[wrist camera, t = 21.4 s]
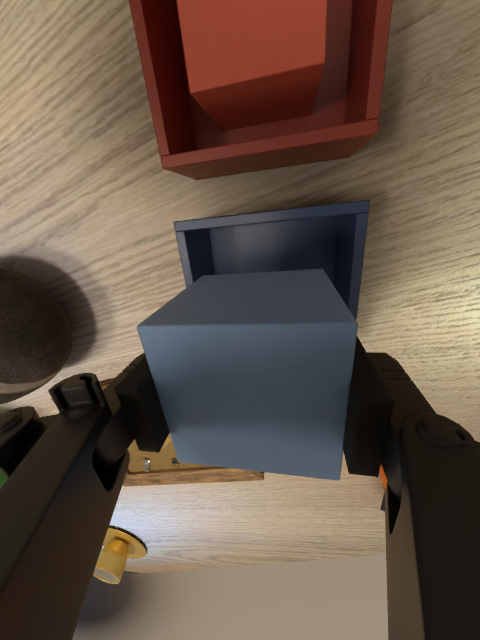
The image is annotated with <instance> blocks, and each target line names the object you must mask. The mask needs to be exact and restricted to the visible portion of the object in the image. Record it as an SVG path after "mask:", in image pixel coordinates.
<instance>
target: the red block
mask: <svg viewBox="0 0 480 640" xmlns="http://www.w3.org/2000/svg"><path fill="white" fill-rule="evenodd" d="M177 6H178V13H179V20H180V27H181V34H182V40H183V47H184V54H185V61H186V68H187V75H188V82H189V89H190V93H191V95H192V96H193V97H194V98H195V100H196V101H197V102H198V103H199V104H200V106H201V107H202V108H203V109H204V110H205V112H206V113H207V114H208V115H209V116H210V118H211V119H212V120H213V121H214V122H215V124H216V125H217V126H218V127H219V128H220V130H221V131H228V130H233V129H238V128H243V127H249V126H254V125H259V124H265V123H270V122H275V121H280V120H286V119H291V118H296V117H302V116H307V115H311V114H312V110H313V106H314V102H315V98H316V95H317V91H318V87H319V83H320V79H321V75H322V71H323V67H324V63H325V49H326V21H327V0H177Z"/></svg>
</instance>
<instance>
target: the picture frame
mask: <svg viewBox="0 0 480 640" xmlns="http://www.w3.org/2000/svg"><path fill="white" fill-rule="evenodd" d="M113 380H114V379H113ZM113 380H109V381H105V382H100V386H101V388H102V390H104V389H105V388H106V387H107V386H108V385H109V384H110V383H111V382H112V381H113ZM52 400H53V399H52ZM53 402H54V400H53ZM54 403H55V402H54ZM128 451H129V453H130V462H129V466H128V469H127V472H126V475H125V478H124V481H123V484H122V485H123V486H143V485H165V484H187V483H209V482H232V481H254V480H264V475H263V473H264V472H261V471H252V470H243V469H235V468H226V467H218V466H209V465H200V464H192V463H183V462H179V461H178V458H177V455H176V452H175V449H174V446H173V442H172V439H171V436H170V433H169V435H168V437H167V439H166V441H165V443H164V445H163V446H162V448H161V450H160V452H159V453H156V452H147V451H139V449H138V446H137V444H136V441H135V439H134V440H133V442H132V443H131V445H130V446H129V448H128Z"/></svg>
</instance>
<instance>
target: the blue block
mask: <svg viewBox="0 0 480 640" xmlns="http://www.w3.org/2000/svg"><path fill="white" fill-rule="evenodd" d="M357 328H358V324H357V322H356V320H355V319H354V317H353V316H352V314H351V312H350V311H349V309H348V308H347V306H346V304H345V303H344V301H343V300H342V298H341V297H340V295H339V293H338V292H337V290H336V289H335V287H334V285H333V284H332V282H331V281H330V279H329V278H328V276H327V274H326V273H325V271H324V270H323V269H308V270H291V271H274V272H257V273H240V274H223V275H206V276H202V277H200V278H199V279H198V280H196V281H195V282H194V283H192V284H191V285H190V286H189V287H187V288H186V289H185V290H183V291H182V292H181V293H179V294H178V295H177V296H176V297H174V298H173V299H172V300H170V301H169V302H168V303H166V304H165V305H164V306H162V307H161V308H160V309H159V310H157V311H156V312H155V313H153V314H152V315H151V316H149V317H148V318H147V319H146V320H144V321H143V322H142V323H140V324H139V325H138V326H137V330H138V333H139V336H140V339H141V342H142V346H143V349H144V352H145V355H146V359H147V362H148V365H149V368H150V371H151V374H152V377H153V381H154V384H155V387H156V390H157V394H158V397H159V400H160V403H161V406H162V410H163V413H164V416H165V419H166V423H167V426H168V429H169V432H170V436H171V439H172V442H173V446H174V449H175V452H176V455H177V458H178V461H179V462H183V463H192V464H200V465H209V466H218V467H226V468H235V469H243V470H252V471H261V472H269V473H278V474H287V475H295V476H304V477H312V478H321V479H330V480H340V474H341V465H342V457H343V444H344V435H345V426H346V418H347V409H348V400H349V392H350V383H351V378H352V371H353V362H354V353H355V345H356V336H357Z"/></svg>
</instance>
